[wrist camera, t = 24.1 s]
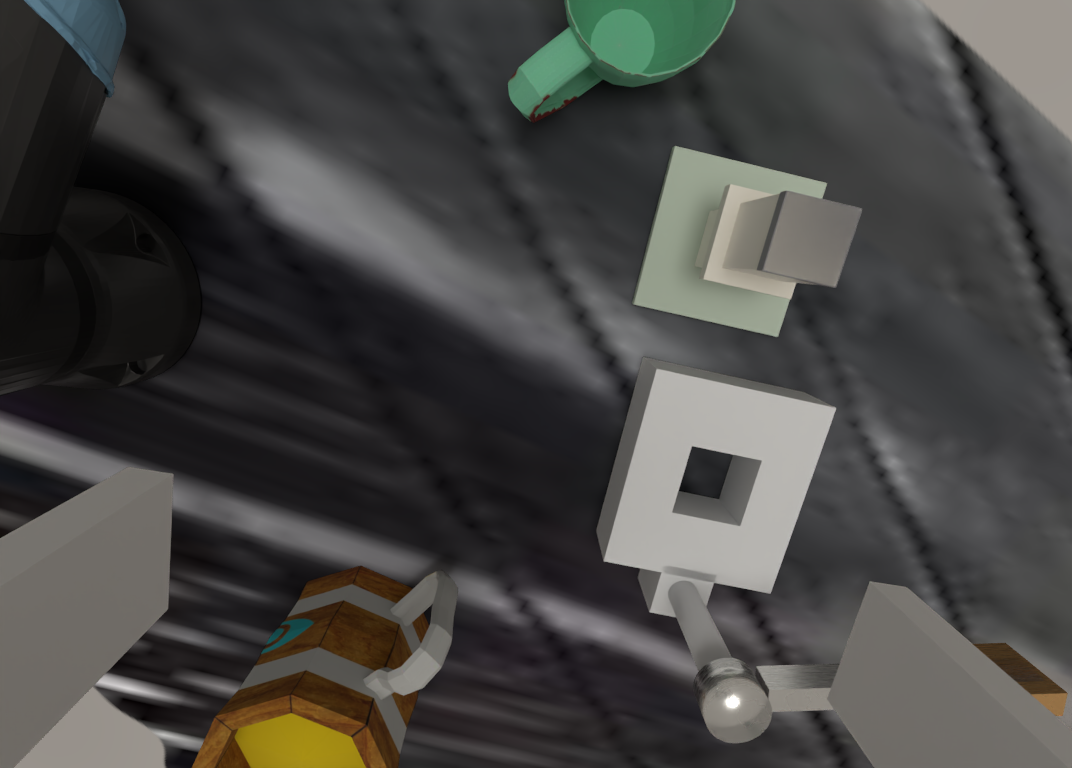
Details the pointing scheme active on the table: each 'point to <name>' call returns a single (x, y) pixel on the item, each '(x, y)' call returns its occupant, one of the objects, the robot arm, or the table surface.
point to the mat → (679, 235)
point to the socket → (698, 521)
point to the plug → (775, 241)
